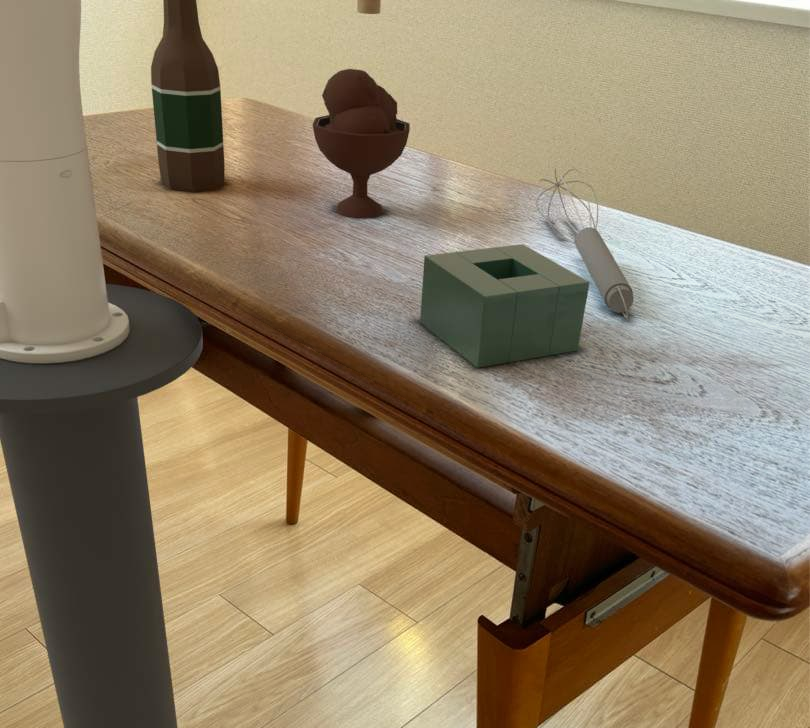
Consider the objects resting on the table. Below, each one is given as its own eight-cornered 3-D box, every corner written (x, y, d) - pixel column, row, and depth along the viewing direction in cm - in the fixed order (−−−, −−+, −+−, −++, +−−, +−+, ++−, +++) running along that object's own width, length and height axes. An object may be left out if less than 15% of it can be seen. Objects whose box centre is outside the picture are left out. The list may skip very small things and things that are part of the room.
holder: (477, 368, 76) (485, 296, 72) (419, 322, 83) (424, 255, 79) (578, 350, 80) (590, 281, 76) (514, 308, 87) (523, 243, 83)
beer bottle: (193, 171, 119) (177, -51, 105) (238, 184, 116) (228, -45, 102) (146, 183, 114) (123, -50, 100) (192, 196, 110) (175, -44, 96)
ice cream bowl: (389, 230, 104) (396, 81, 95) (297, 215, 106) (295, 69, 98) (418, 205, 112) (427, 67, 103) (332, 192, 115) (333, 56, 106)
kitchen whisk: (592, 323, 85) (604, 254, 81) (527, 214, 112) (534, 159, 109) (657, 325, 85) (673, 256, 82) (577, 216, 113) (586, 161, 109)
